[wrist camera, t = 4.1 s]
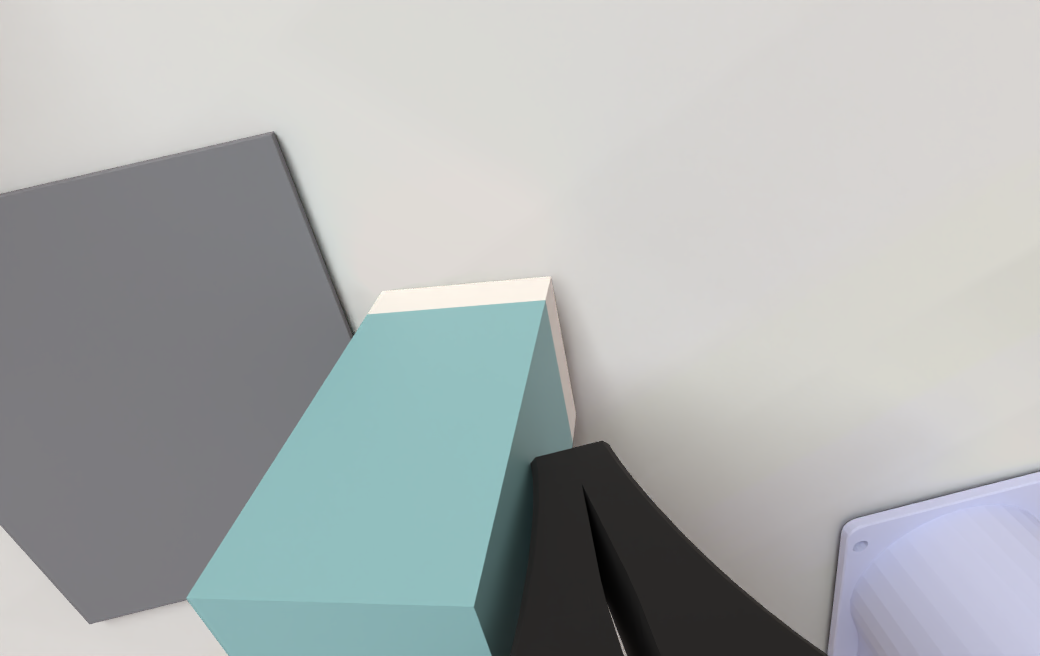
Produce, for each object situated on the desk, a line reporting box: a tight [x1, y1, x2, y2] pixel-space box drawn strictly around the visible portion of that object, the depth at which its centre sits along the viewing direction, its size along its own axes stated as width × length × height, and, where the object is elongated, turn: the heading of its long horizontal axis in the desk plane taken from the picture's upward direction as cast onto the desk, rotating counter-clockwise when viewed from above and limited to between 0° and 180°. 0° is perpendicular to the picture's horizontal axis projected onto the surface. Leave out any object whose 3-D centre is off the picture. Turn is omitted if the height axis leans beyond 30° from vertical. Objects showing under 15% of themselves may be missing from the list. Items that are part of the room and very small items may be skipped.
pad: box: [0, 132, 353, 624], centre depth 16 cm, size 12×10×1 cm
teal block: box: [186, 276, 576, 656], centre depth 13 cm, size 4×4×8 cm
